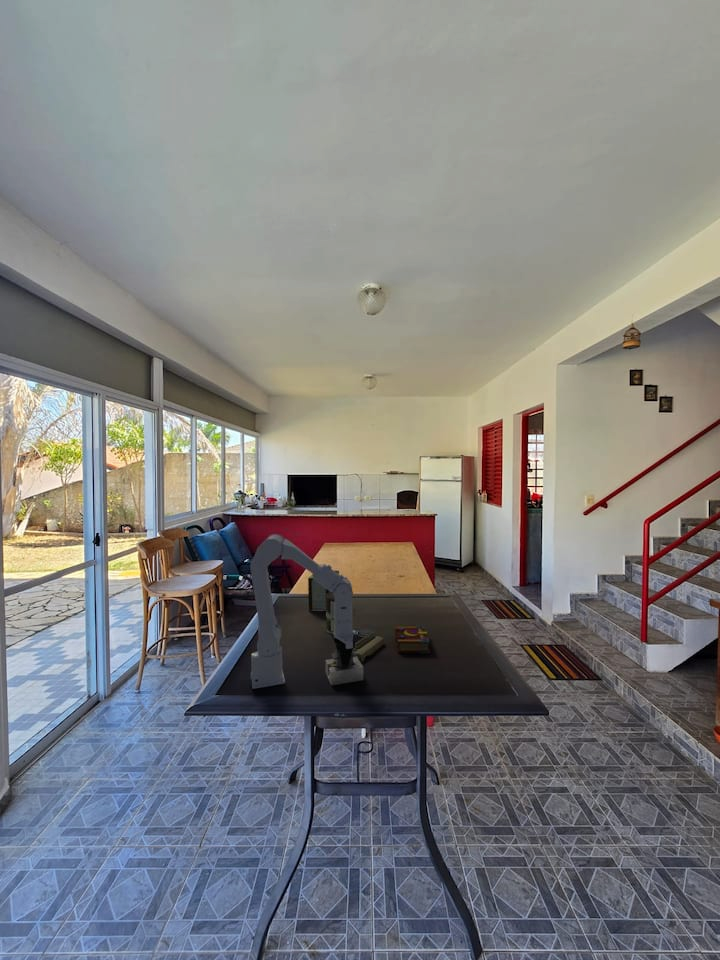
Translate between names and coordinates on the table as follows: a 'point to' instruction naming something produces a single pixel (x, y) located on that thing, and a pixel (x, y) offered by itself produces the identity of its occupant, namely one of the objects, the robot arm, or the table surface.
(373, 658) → the table surface
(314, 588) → the protein box
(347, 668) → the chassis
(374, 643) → the computer
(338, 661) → the block
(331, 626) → the coffee can
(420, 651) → the decorative book
